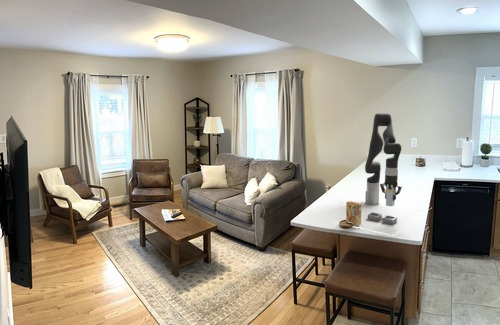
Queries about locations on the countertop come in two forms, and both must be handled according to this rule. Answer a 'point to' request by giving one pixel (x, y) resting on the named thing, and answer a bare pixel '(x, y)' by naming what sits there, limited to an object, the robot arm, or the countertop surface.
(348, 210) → the candy box
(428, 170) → the countertop surface
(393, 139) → the robot arm
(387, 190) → the plug
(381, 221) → the grey boxy piece
